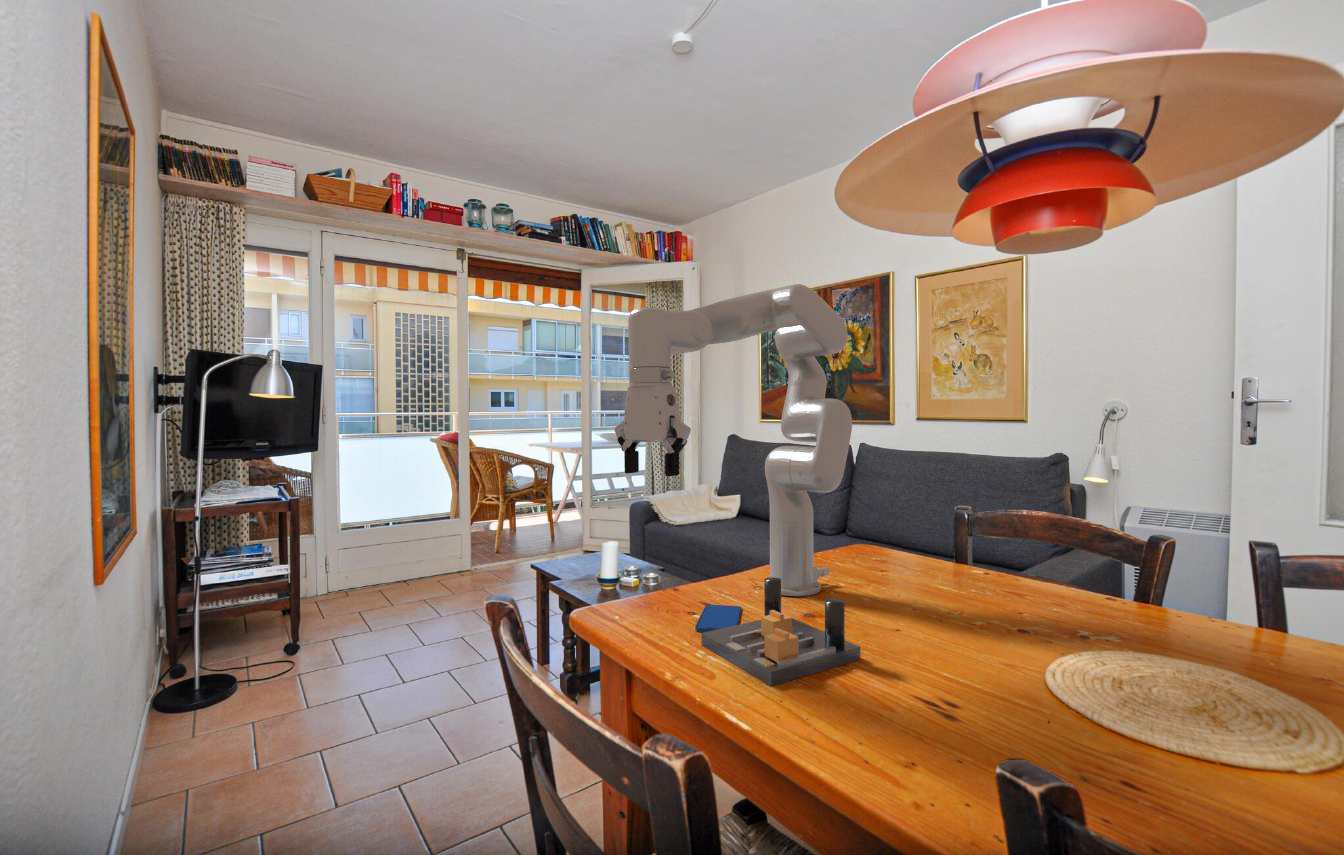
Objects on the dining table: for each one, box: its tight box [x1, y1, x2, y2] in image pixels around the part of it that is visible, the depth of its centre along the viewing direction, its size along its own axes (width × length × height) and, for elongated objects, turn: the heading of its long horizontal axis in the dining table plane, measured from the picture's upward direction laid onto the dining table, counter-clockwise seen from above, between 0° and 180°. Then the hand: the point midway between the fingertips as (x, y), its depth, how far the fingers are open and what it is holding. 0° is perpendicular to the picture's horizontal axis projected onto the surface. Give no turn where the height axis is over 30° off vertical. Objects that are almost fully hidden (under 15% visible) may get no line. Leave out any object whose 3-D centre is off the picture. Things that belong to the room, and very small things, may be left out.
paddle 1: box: [760, 610, 793, 636], centre depth 98 cm, size 4×3×4 cm
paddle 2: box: [765, 628, 798, 662], centre depth 90 cm, size 4×3×4 cm
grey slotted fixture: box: [701, 576, 861, 687], centre depth 98 cm, size 18×19×9 cm
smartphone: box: [694, 604, 743, 633], centre depth 113 cm, size 7×1×15 cm
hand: (651, 474), depth 108 cm, fingers open, 9 cm apart
